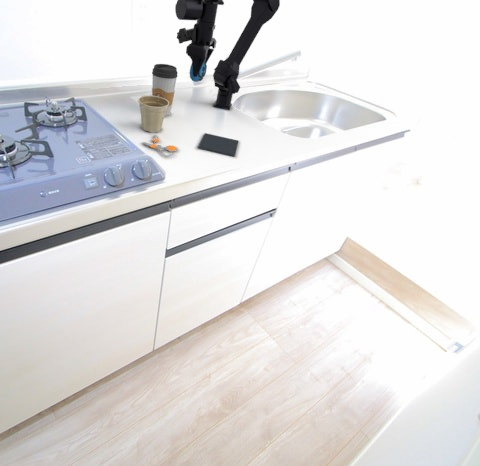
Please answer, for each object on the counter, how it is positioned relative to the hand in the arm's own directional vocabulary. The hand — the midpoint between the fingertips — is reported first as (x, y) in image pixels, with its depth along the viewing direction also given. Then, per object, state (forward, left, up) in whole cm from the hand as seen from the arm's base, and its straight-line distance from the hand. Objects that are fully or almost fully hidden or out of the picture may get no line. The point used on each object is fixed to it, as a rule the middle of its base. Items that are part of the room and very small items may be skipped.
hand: (197, 73), depth 113 cm
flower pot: (+24, -8, -13) cm, 28 cm away
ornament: (0, 0, -3) cm, 3 cm away
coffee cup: (+10, -9, -13) cm, 19 cm away
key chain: (+35, -2, -12) cm, 37 cm away
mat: (+25, +14, -12) cm, 31 cm away
